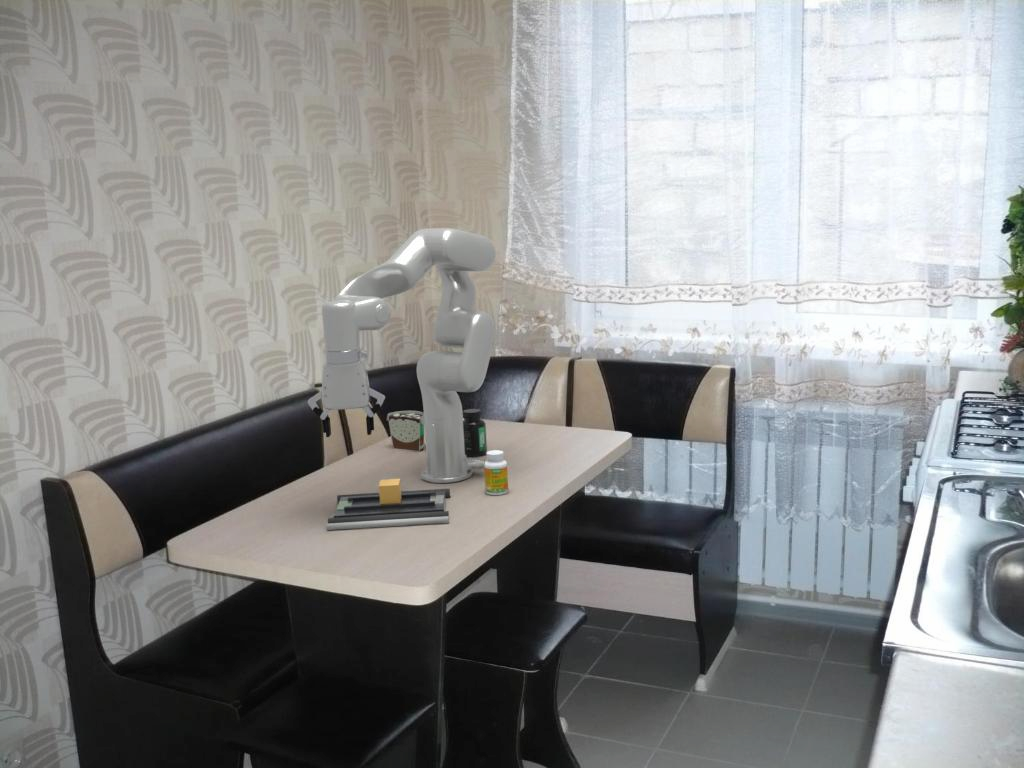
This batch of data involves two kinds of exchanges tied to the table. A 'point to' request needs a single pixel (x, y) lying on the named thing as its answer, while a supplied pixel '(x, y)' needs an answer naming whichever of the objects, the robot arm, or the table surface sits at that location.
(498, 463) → the supplement bottle
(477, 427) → the supplement bottle
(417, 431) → the food container
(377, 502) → the railed metal tray
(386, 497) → the toggle
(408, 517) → the pair of dark bars
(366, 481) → the table surface
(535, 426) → the table surface
